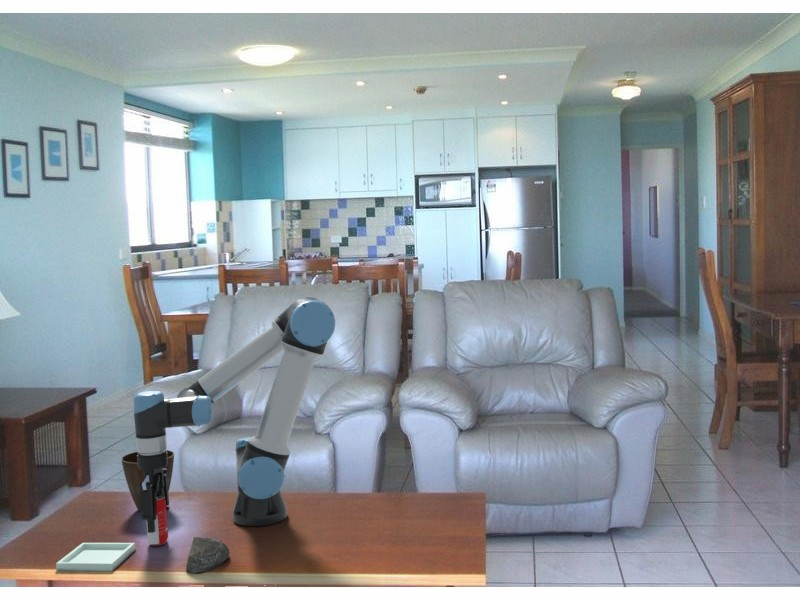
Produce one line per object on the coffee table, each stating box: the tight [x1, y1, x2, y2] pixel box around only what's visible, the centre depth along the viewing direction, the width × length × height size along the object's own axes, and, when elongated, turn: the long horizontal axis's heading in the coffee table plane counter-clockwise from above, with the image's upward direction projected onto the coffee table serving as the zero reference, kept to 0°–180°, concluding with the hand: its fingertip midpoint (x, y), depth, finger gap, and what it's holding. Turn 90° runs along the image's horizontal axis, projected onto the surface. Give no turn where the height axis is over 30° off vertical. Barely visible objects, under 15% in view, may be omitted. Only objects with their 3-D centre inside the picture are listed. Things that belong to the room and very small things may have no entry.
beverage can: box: [145, 495, 169, 546], centre depth 223 cm, size 5×5×12 cm
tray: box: [55, 542, 137, 572], centre depth 214 cm, size 14×14×2 cm
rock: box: [185, 536, 230, 574], centre depth 209 cm, size 13×9×6 cm, turn 177°
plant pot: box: [120, 449, 175, 513], centre depth 253 cm, size 15×15×16 cm
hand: (157, 539), depth 224 cm, fingers closed on beverage can, 5 cm apart
